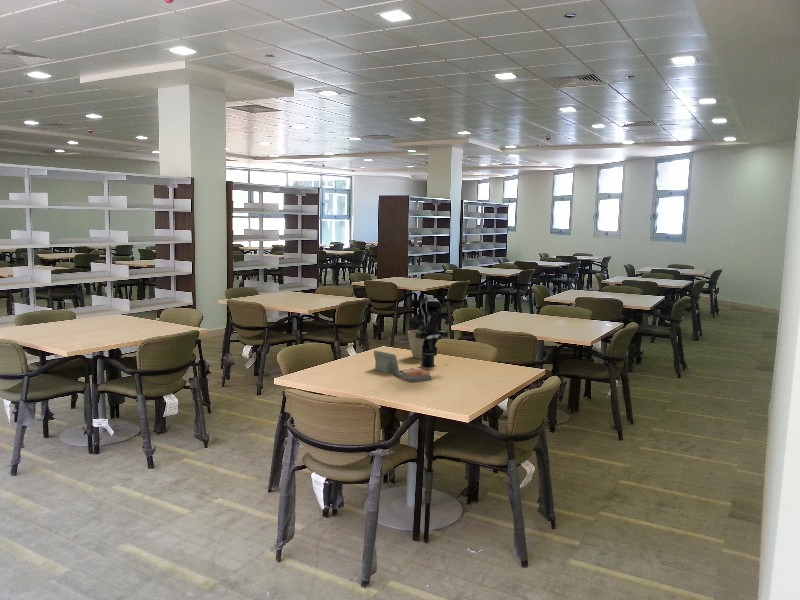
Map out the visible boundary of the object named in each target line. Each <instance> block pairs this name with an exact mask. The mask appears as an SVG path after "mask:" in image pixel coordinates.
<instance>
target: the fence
mask: <svg viewBox="0 0 800 600" xmlns="http://www.w3.org/2000/svg"><path fill="white" fill-rule="evenodd" d="M406 370H411V368H409V369H399V371H393V372H392V375H393V376H395V377H398V378H400V379H402V380H404V381H407V382H409V383H415V382H422V381H423V382H424V381H431V380H432V375H431V374H430V375H428V376H420V377H409V376H407V375H404V374H402V372H403V371H406Z"/></svg>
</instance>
